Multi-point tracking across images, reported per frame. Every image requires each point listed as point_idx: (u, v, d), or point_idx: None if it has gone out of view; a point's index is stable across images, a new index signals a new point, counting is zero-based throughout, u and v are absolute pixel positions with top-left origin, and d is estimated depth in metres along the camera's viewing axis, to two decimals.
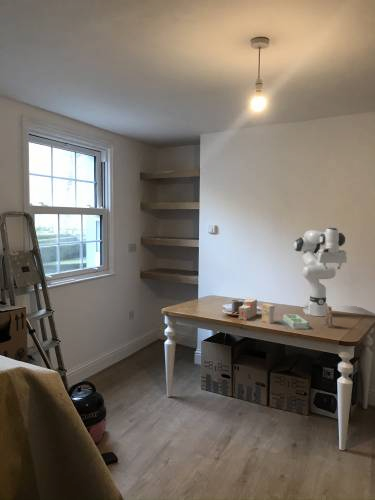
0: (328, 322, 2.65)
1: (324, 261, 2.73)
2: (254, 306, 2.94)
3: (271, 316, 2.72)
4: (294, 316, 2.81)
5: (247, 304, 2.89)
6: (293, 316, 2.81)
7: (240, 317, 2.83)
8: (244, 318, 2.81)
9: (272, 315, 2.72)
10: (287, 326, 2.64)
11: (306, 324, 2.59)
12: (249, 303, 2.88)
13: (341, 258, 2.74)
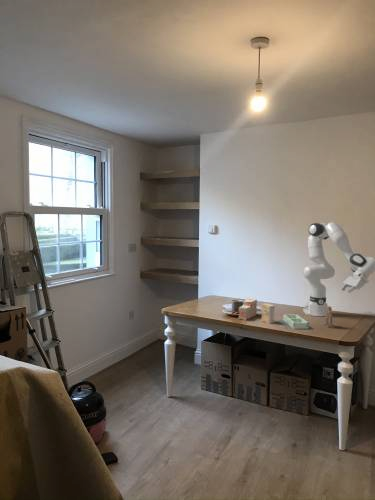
0: (328, 322, 2.65)
1: None
2: (254, 306, 2.94)
3: (271, 316, 2.72)
4: (294, 316, 2.81)
5: (247, 304, 2.89)
6: (293, 316, 2.81)
7: (240, 317, 2.83)
8: (244, 318, 2.81)
9: (272, 315, 2.72)
10: (287, 326, 2.64)
11: (306, 324, 2.59)
12: (249, 303, 2.88)
13: None
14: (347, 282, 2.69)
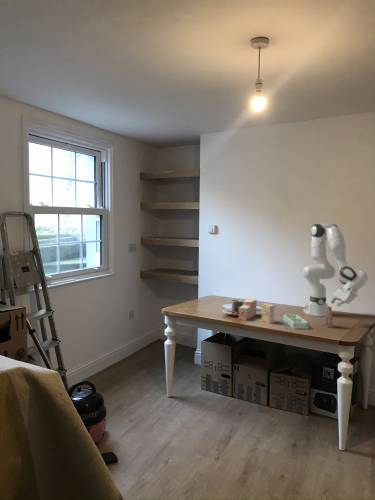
0: (328, 322, 2.65)
1: None
2: (254, 306, 2.94)
3: (271, 316, 2.72)
4: (294, 316, 2.81)
5: (247, 304, 2.89)
6: (293, 316, 2.81)
7: (240, 317, 2.82)
8: (244, 318, 2.81)
9: (272, 315, 2.72)
10: (287, 326, 2.64)
11: (306, 324, 2.59)
12: (249, 303, 2.88)
13: None
14: (336, 295, 2.69)
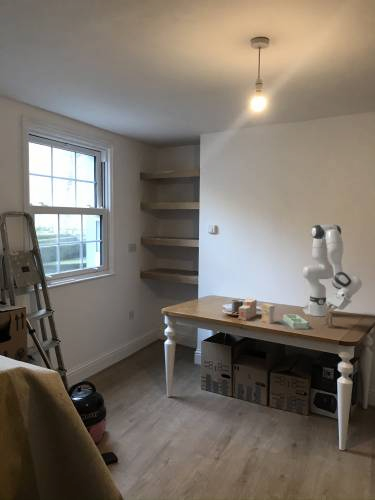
0: (328, 322, 2.65)
1: None
2: (254, 306, 2.93)
3: (271, 316, 2.72)
4: (294, 316, 2.81)
5: (247, 304, 2.88)
6: (293, 316, 2.81)
7: (240, 317, 2.82)
8: (244, 318, 2.81)
9: (272, 315, 2.72)
10: (287, 326, 2.64)
11: (306, 324, 2.59)
12: (249, 303, 2.88)
13: None
14: (330, 301, 2.69)
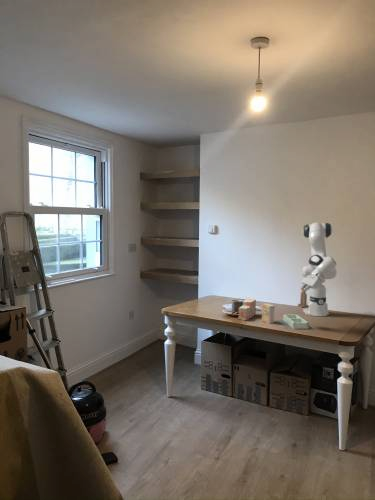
0: (302, 302, 2.62)
1: None
2: (253, 306, 2.93)
3: (271, 316, 2.72)
4: (294, 316, 2.81)
5: (246, 304, 2.88)
6: (293, 316, 2.81)
7: (240, 317, 2.82)
8: (244, 318, 2.80)
9: (272, 315, 2.72)
10: (287, 326, 2.64)
11: (306, 324, 2.59)
12: (248, 303, 2.87)
13: None
14: (305, 281, 2.66)
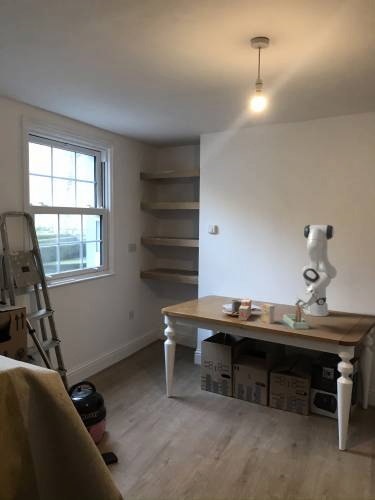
0: (297, 320, 2.64)
1: None
2: (250, 306, 2.94)
3: (271, 316, 2.72)
4: (294, 316, 2.81)
5: (245, 304, 2.88)
6: (293, 316, 2.81)
7: (240, 318, 2.81)
8: (245, 318, 2.80)
9: (272, 315, 2.72)
10: (287, 326, 2.64)
11: (306, 324, 2.59)
12: (247, 303, 2.88)
13: None
14: (300, 297, 2.67)
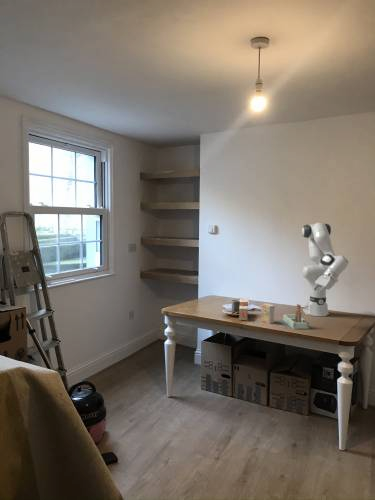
0: (297, 320, 2.64)
1: None
2: None
3: (271, 316, 2.72)
4: (294, 316, 2.81)
5: (243, 304, 2.88)
6: (293, 316, 2.81)
7: (241, 318, 2.80)
8: (245, 319, 2.80)
9: (272, 315, 2.72)
10: (287, 326, 2.64)
11: (306, 324, 2.59)
12: (246, 303, 2.88)
13: None
14: (318, 282, 2.67)
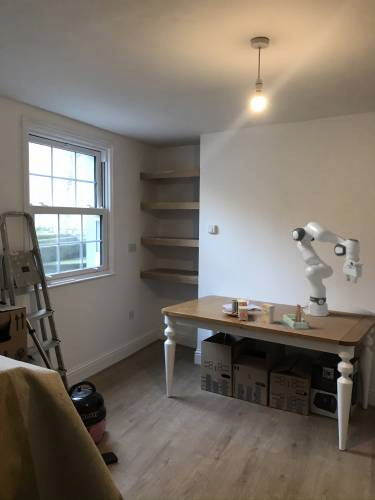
0: (297, 320, 2.64)
1: None
2: None
3: (271, 316, 2.72)
4: (294, 316, 2.81)
5: (242, 304, 2.88)
6: (293, 316, 2.81)
7: (241, 318, 2.80)
8: (245, 319, 2.79)
9: (272, 315, 2.72)
10: (287, 326, 2.64)
11: (306, 324, 2.59)
12: (244, 303, 2.88)
13: None
14: (346, 272, 2.70)
